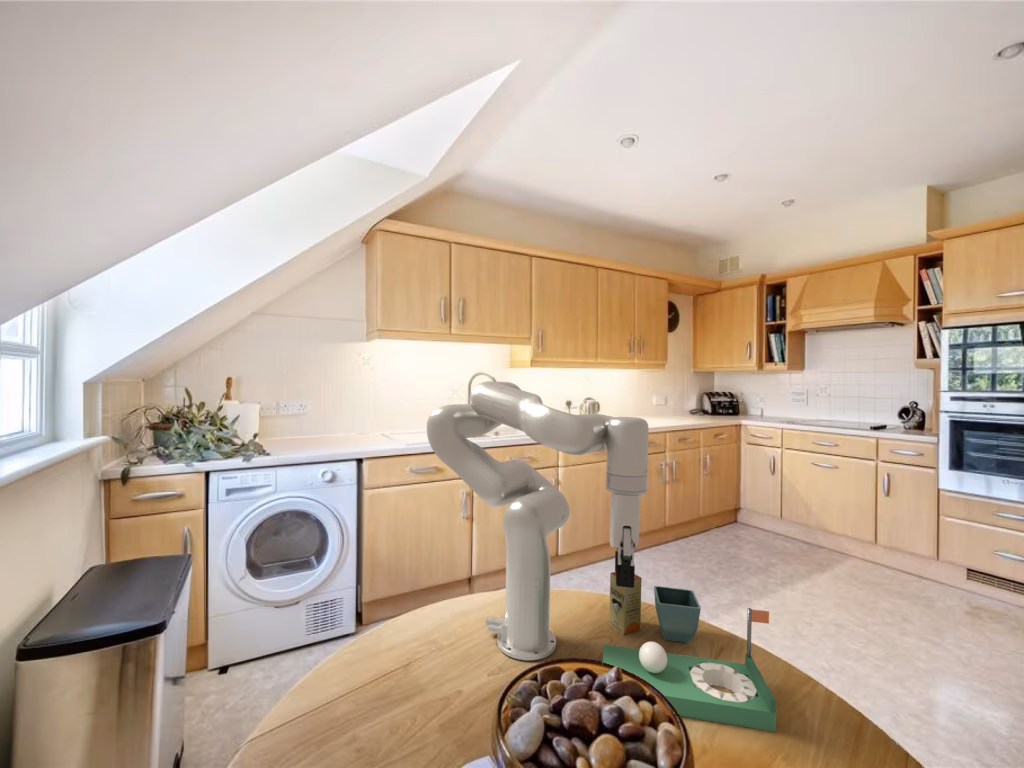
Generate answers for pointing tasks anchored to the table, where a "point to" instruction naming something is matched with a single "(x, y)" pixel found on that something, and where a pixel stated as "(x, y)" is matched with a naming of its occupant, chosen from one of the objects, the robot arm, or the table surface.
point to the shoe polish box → (625, 606)
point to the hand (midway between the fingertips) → (624, 578)
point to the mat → (706, 687)
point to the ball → (653, 657)
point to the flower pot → (677, 613)
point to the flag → (754, 617)
